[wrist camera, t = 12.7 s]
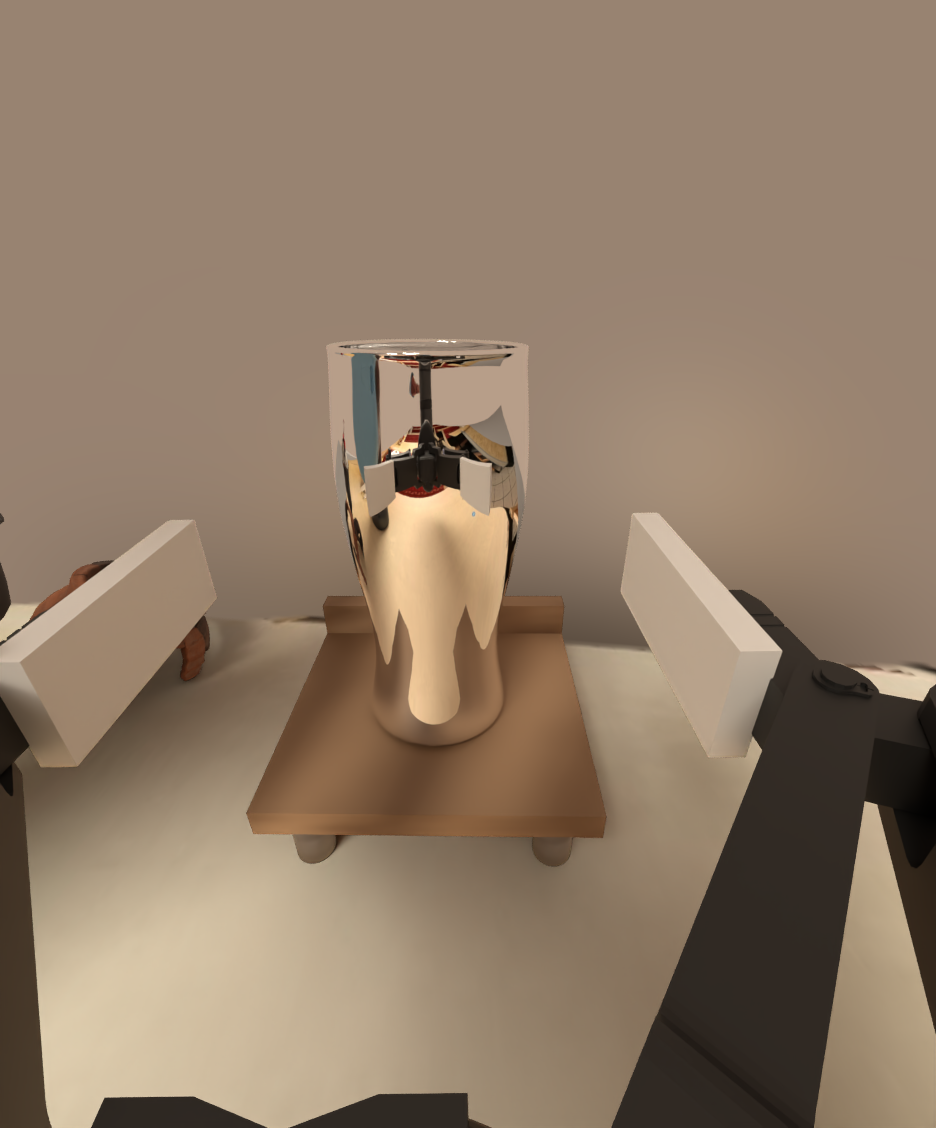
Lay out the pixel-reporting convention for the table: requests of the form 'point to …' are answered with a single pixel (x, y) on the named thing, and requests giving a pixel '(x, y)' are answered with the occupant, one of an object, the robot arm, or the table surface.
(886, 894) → the table surface
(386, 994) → the table surface
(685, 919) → the table surface
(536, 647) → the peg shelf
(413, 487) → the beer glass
